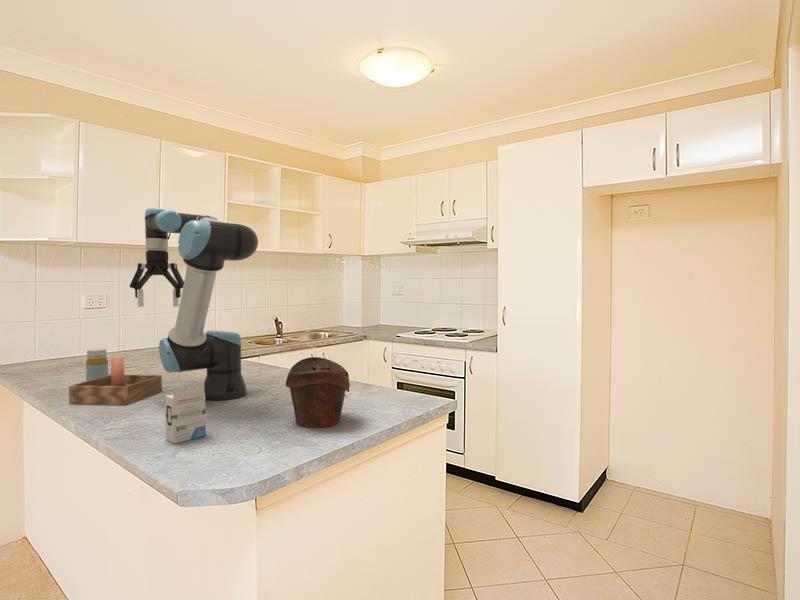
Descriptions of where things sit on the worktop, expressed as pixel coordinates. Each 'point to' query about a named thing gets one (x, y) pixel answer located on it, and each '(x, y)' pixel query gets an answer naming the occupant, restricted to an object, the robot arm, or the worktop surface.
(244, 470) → the worktop surface
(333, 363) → the chocolate muffin
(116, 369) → the peg
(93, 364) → the bottle
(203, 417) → the ink box
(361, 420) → the worktop surface
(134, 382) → the crate
